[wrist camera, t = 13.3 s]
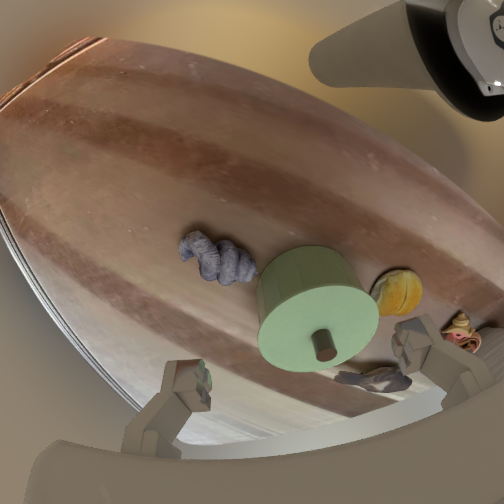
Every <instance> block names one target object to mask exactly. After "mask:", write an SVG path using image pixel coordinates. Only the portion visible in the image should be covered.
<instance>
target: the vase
mask: <svg viewBox="0 0 504 504" xmlns="http://www.w3.org/2000/svg"><path fill="white" fill-rule="evenodd" d="M477 333H478V334H479V335H480V337H481V344H480V347H479V348H478V350H477V351H476V352H475V353H473V352H472V349H471V348H470V349H468V350H466V351H468V352H469V353H471V354H473V355H475V356H476V357H478V358H480V359H482V360H483V361H485V363H486V364H487V366H488V368H489V370H490V372H491V373H492V375H493V377H494V379H495V381H496V383H497V382H498V381H500V380H502V379H503V378H504V329H503V328H497V327H496V328H491V327H485V328H483V329H481V330H479V331H478V332H477Z"/></svg>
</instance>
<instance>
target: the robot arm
mask: <svg viewBox="0 0 504 504" xmlns="http://www.w3.org/2000/svg"><path fill="white" fill-rule="evenodd" d="M444 28H445V33H446V36H447V39H448V42H449V45H450V47H451V49H452V52H453V54H454V55H455V57H456V59H457V60H458V62H459V63H460V65H461V66H462V68H463V69H464V70H465V71H466V72H467V73H468V74H469V75H470V77H471V78H472V79H473V81H474V83H475V85H476V87H477V89H478V91H479V93H480V94H481V95H482V96H491V95H499V94H504V0H451V1H450V2H449V3H448V4H447V5H446V7H445V10H444ZM394 330H395V332H396V333H395V334H394V335H393V336H392V341H391V342H392V349H393V352H394V355H395V356H396V357H398V358H399V359H400V360H399V366H400V369H401V371H402V373H403V376H404V375H407V374H411V373H414V372H417V371H420V372H422V373H423V374H424V375H425V376H427V377H428V378H429V379H430V380H432V381H433V382H434V383H435V384H437V385H438V386H439V387H441V388H442V389H443V390H444V391H446V392H447V395H446V396H445V398H444V399H443V400H442V403H441V406H442V408H443V411H441V412H438V413H436V414H434V415H431V416H429V417H427V418H424V419H422V420H419V421H417V422H414V423H411V424H408V425H406V426H403V427H400V428H397V429H394V430H391V431H388V432H385V433H382V434H379V435H375V436H372V437H369V438H365V439H361V440H357V441H354V442H350V443H346V444H341V445H337V446H332V447H327V448H323V449H317V450H312V451H307V452H300V453H293V454H286V455H278V456H269V457H259V458H245V459H223V460H221V459H220V460H198V459H196V460H195V459H181V451H180V450H179V449H178V448H177V447H175V446H174V445H173V444H172V442H173V440H174V439H175V438H176V436H177V435H178V433H179V432H180V430H181V429H182V427H183V426H184V424H185V423H186V421H187V420H188V418H189V417H190V415H191V414H192V413H191V412H205V411H210V407H211V397H210V396H209V394H208V393H209V392H210V391H211V389H212V381H211V375H210V372H209V370H208V369H206V368H205V363H204V361H203V360H202V359H193V360H174V361H167V363H166V365H165V370H164V375H163V380H162V385H161V391H160V393H156V395H155V396H154V397H153V398H152V399H151V400H150V401H149V402H148V403H147V405H146V406H145V407H144V408H143V409H142V410H141V411H140V412H139V413H138V414H137V415H136V417H135V418H134V419H133V420H132V421H131V422H130V423H129V424H128V425H127V426H126V428H125V433H124V438H123V443H122V448H121V453H119V452H114V451H108V450H102V449H98V448H93V447H88V446H84V445H79V444H76V443H72V442H68V441H64V440H56V441H55V442H53V443H52V444H51V445H49V446H48V447H47V448H46V449H45V450H44V451H43V452H42V453H40V454H39V455H38V457H37V458H36V460H35V462H34V464H33V467H32V469H31V473H30V476H29V480H28V484H27V488H26V493H25V498H24V503H23V504H504V378H503V379H502V380H500V381H498V382H497V383H496V381H495V379H494V377H493V375H492V373H491V372H490V370H489V368H488V366H487V364H486V363H485V361H483V360H482V359H480V358H478V357H476V356H475V355H473V354H471V353H469V352H468V351H466V350H464V349H462V348H461V347H459V346H457V345H455V344H453V343H452V342H450V341H448V340H443V338H442V336H441V335H440V333H439V331H438V330H437V328H436V326H435V325H434V323H433V322H432V320H431V318H430V317H429V315H427V314H425V315H422V316H419V317H415V318H411V319H408V320H405V321H402V322H398V323H396V325H395V328H394Z"/></svg>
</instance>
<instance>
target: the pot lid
mask: <svg viewBox="0 0 504 504" xmlns="http://www.w3.org/2000/svg"><path fill="white" fill-rule="evenodd" d="M378 323H379V310H378V307H377V304H376V303H375V301H374V299H373V298H372V297H371V295H370V294H368V293H367V292H366V291H365V290H363V289H361V288H359V287H356V286H354V285H350V284H345V283H326V284H319V285H315V286H311V287H308V288H305V289H302V290H299V291H297V292H295V293H293V294H291V295H289V296H288V297H286V298H284V299H283V300H281V301H280V302H279V303H277V304H276V305H275V306H274V307H273V308H272V309H271V310H270V311H269V312H268V313H267V315H266V316H265V317H264V319H263V321H262V322H261V325H260V327H259V330H258V338H257V340H258V347H259V350H260V352H261V354H262V355H263V357H264V358H265V359H266V360H267V361H268V362H269V363H271V364H272V365H274V366H276V367H278V368H281V369H284V370H287V371H293V372H313V371H319V370H324V369H328V368H331V367H334V366H336V365H339V364H341V363H343V362H345V361H347V360H348V359H350V358H352V357H353V356H355V355H356V354H357V353H359V352H360V351H361V350H362V349H363V348H364V347H365V346H366V345H367V344H368V343H369V341H370V340H371V339H372V337H373V335H374V334H375V332H376V329H377V327H378Z"/></svg>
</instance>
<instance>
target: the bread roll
mask: <svg viewBox="0 0 504 504" xmlns="http://www.w3.org/2000/svg"><path fill="white" fill-rule="evenodd" d="M422 292H423V288H422V284H421V281H420V279H419V277H418V276H417V275H416V274H415V273H414V272H413V271H410V270H394V271H390V272H388V273H386V274H384V275H383V276H382V277H381V278H380V279H378V281H377V282H376V284H375V286H374V287H373V289H372V292H371V294H370V295H371V297H372V298H373V299H374V301H375V303H376V304H377V307H378V310H379V316H389V315H392V314H393V315H395V316H403V315H406V314H408V313H410V312H411V311H412V310H413V309H414V308H415V307H416V306H417V305H418V303H419V301H420V299H421V297H422Z"/></svg>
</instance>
